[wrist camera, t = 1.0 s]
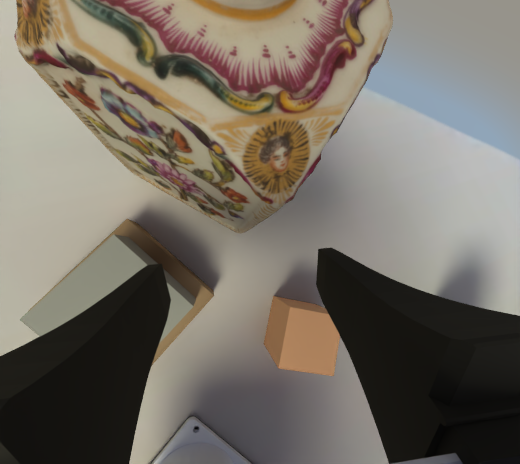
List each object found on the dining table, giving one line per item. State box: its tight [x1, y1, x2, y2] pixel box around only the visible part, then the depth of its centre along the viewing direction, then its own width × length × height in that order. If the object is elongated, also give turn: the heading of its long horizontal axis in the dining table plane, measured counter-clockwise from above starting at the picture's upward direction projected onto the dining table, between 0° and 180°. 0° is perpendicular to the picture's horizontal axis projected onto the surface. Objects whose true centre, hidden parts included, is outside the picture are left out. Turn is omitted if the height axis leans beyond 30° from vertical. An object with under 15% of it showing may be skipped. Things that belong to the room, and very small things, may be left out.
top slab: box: [20, 234, 196, 343], centre depth 17 cm, size 7×7×3 cm
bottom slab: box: [29, 219, 214, 366], centre depth 20 cm, size 9×9×3 cm
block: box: [264, 296, 340, 376], centre depth 21 cm, size 4×4×5 cm
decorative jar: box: [15, 0, 393, 233], centre depth 14 cm, size 12×12×18 cm
